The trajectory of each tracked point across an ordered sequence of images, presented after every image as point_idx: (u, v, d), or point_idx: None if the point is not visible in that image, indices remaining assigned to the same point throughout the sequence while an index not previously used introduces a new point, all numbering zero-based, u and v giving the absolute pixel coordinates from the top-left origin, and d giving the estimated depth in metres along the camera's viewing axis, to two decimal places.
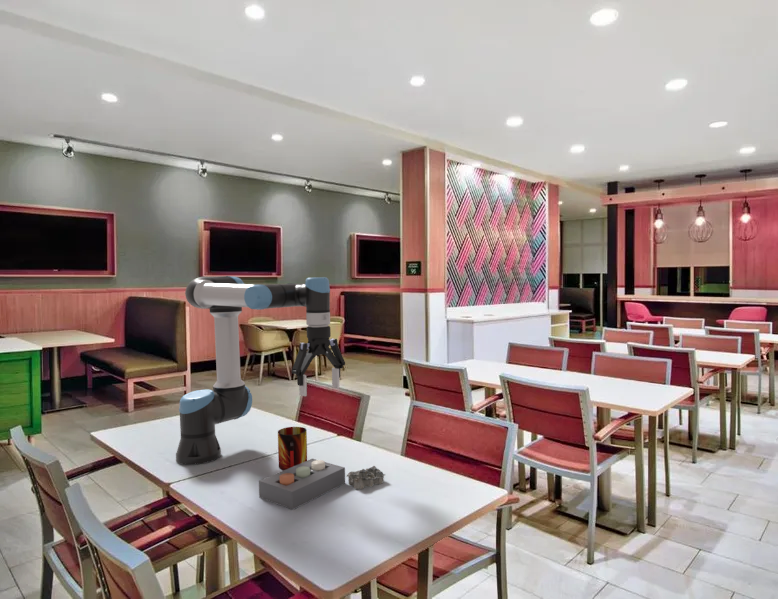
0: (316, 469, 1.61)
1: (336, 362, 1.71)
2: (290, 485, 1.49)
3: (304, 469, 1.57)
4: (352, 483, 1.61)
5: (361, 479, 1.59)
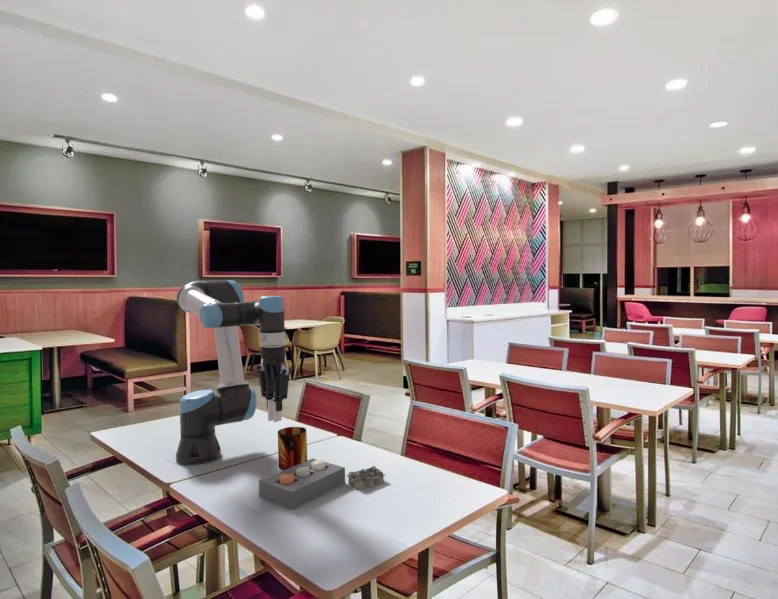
0: (316, 469, 1.61)
1: (275, 392, 1.62)
2: (290, 485, 1.49)
3: (304, 469, 1.57)
4: (352, 483, 1.61)
5: (361, 479, 1.59)
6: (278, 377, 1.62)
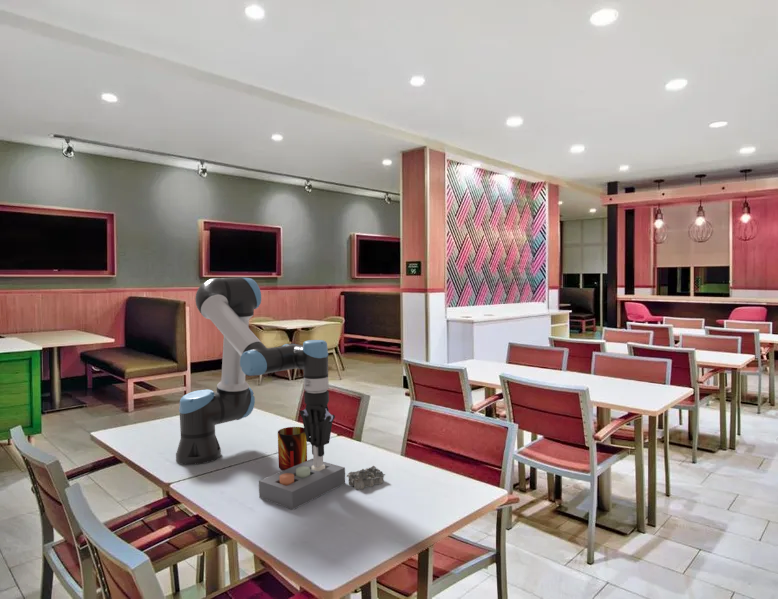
0: None
1: (317, 437, 1.61)
2: (290, 485, 1.49)
3: (304, 469, 1.57)
4: (352, 483, 1.61)
5: (361, 479, 1.59)
6: (321, 422, 1.61)
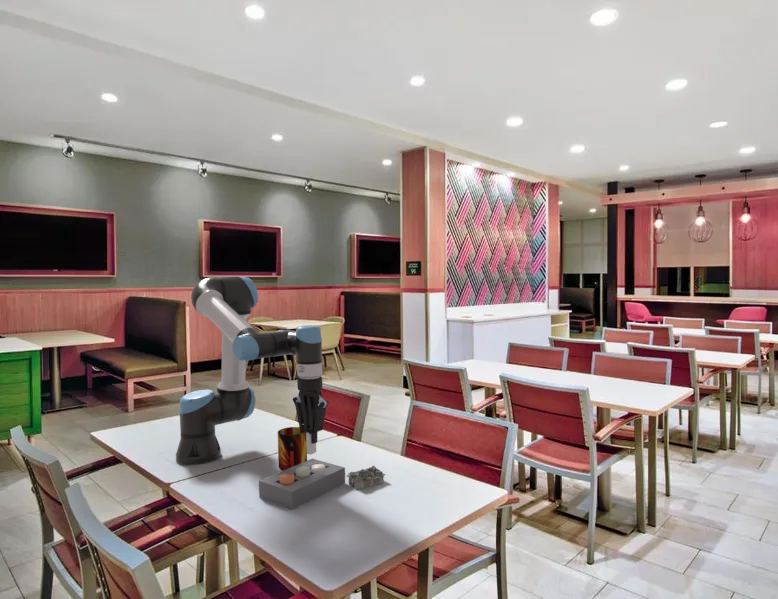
0: None
1: (310, 424, 1.58)
2: (290, 485, 1.49)
3: (304, 469, 1.57)
4: (352, 483, 1.61)
5: (362, 479, 1.59)
6: (315, 409, 1.59)
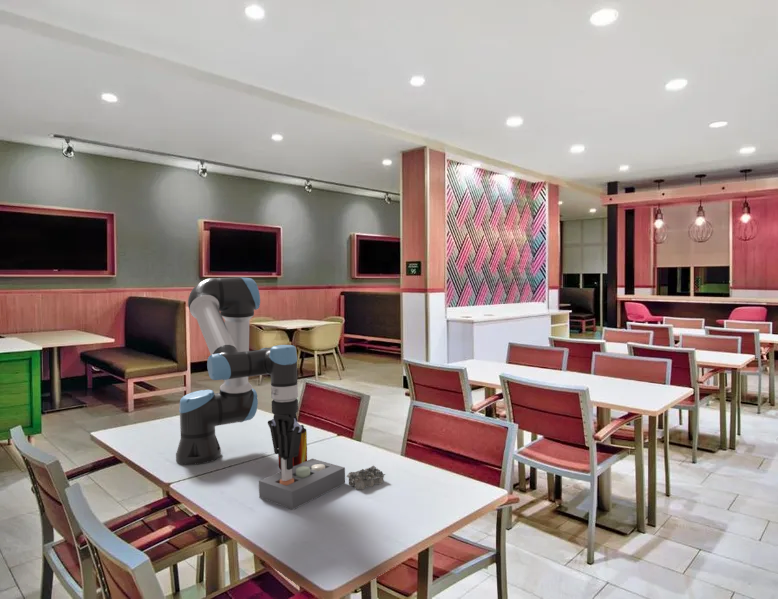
0: None
1: (285, 449, 1.50)
2: (290, 485, 1.49)
3: (304, 469, 1.57)
4: (352, 483, 1.61)
5: (362, 479, 1.59)
6: (290, 433, 1.51)
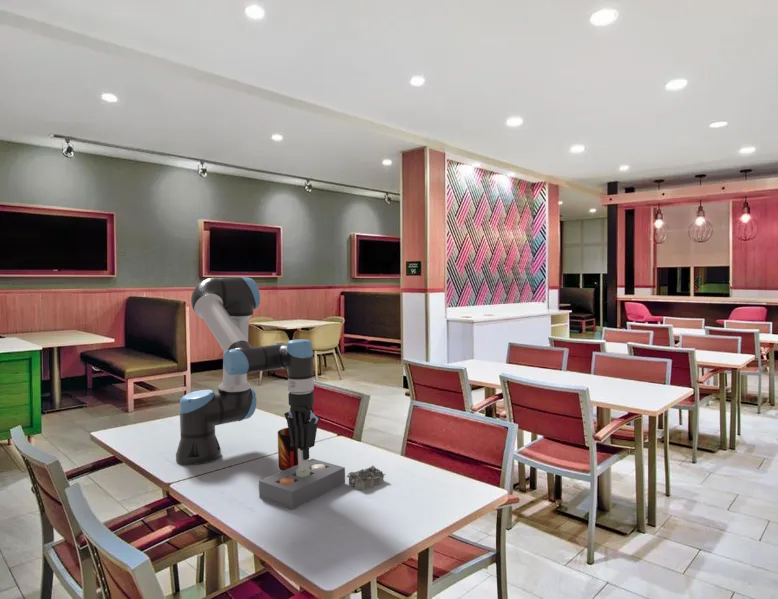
0: None
1: (302, 440, 1.55)
2: (290, 485, 1.49)
3: (304, 470, 1.57)
4: (352, 483, 1.61)
5: (362, 479, 1.58)
6: (306, 425, 1.56)
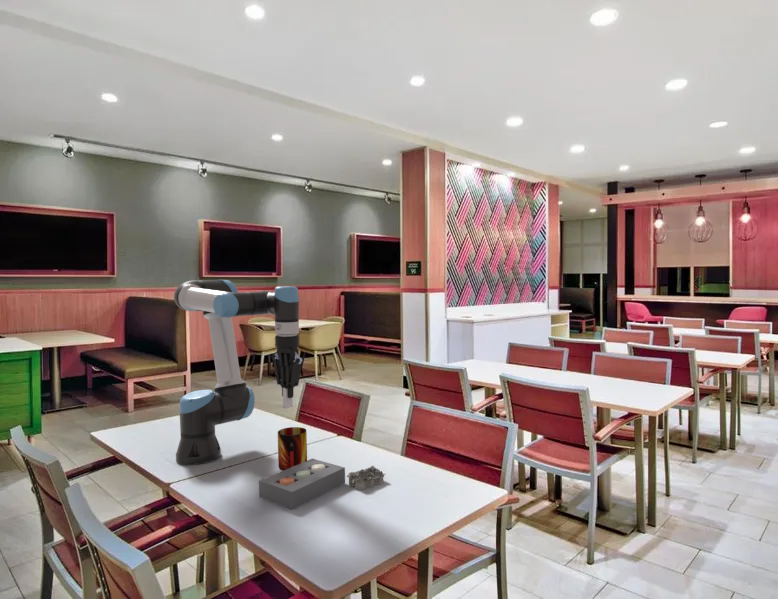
0: None
1: (287, 379, 1.67)
2: (290, 485, 1.49)
3: (304, 473, 1.57)
4: (353, 484, 1.61)
5: (362, 479, 1.58)
6: (291, 365, 1.67)
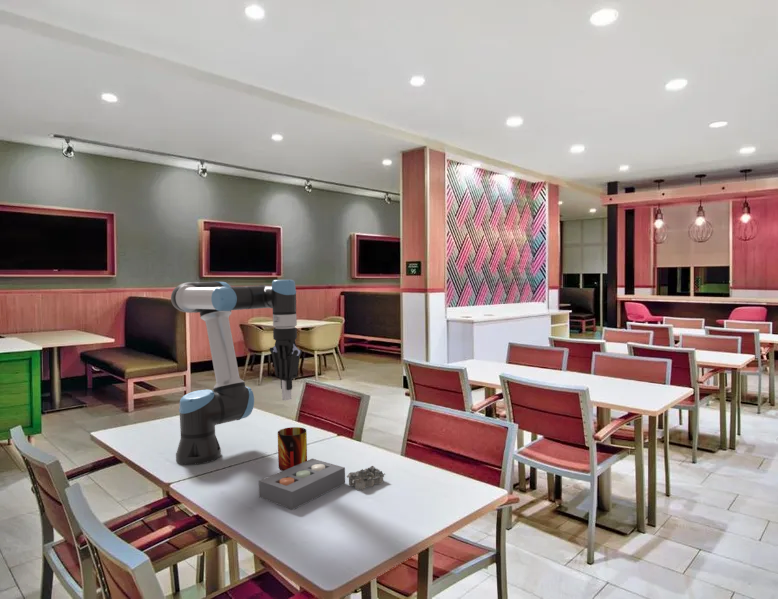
0: None
1: (285, 372, 1.69)
2: (290, 485, 1.49)
3: (304, 473, 1.57)
4: (353, 484, 1.60)
5: (363, 479, 1.58)
6: (289, 357, 1.69)
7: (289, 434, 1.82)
